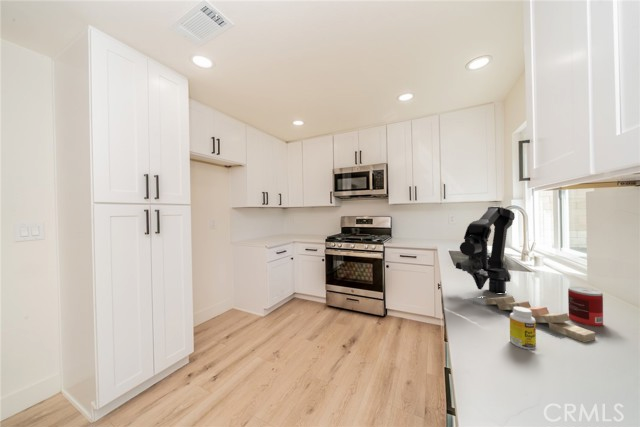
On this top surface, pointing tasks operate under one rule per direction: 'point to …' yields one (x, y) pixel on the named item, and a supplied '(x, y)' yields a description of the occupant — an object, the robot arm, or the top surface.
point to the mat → (494, 307)
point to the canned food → (585, 306)
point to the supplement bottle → (522, 328)
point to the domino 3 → (538, 311)
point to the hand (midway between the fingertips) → (479, 289)
